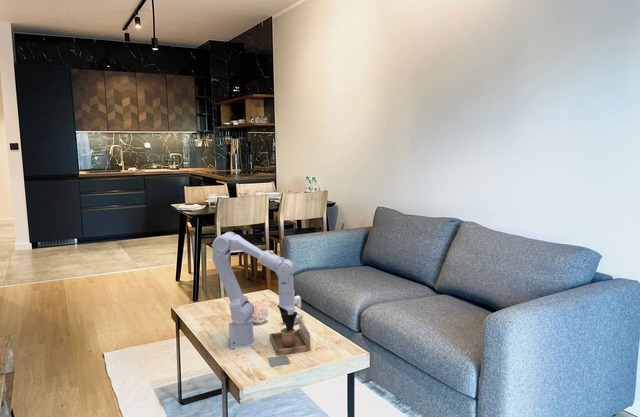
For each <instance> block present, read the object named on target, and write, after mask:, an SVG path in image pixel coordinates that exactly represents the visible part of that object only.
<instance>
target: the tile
mask: <svg viewBox="0 0 640 417" xmlns="http://www.w3.org/2000/svg"><path fill="white" fill-rule="evenodd" d="M267 360H268V363H269V366H270V367H278V366H286V365H291V362H290V359H289V357H288V354H287V355H280V356H279V355H276V356H272V357H267Z"/></svg>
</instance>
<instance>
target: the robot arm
mask: <svg viewBox="0 0 640 417" xmlns="http://www.w3.org/2000/svg"><path fill="white" fill-rule="evenodd" d="M211 247H212V256H211V259H212V262H213V264H214V267H215V268H216V272H217V274H218V276H219V279H220V281H221V283H222V285H223V288H224V290H225V292H226V294H227V297H228V299H229V304H230V305H229V310H230V318H231V321H232V322H230V323H228V336H229V337H228V342H229V346H230V349H231V350H232V349H236V348H242V347H243V348H244V347H250V346H256V345H257V343H256V341H255V337H254V326H253V325H254V324H253V316H252V315H253V314H254V313H255V307H254V304H253V303H251V302H250V300H249V298H248V297H247V296H246V295H244V293H243V291H242V288H241V287H240V284H239V282H238V280H237V278H236V275H235V273H234V271H233V268H232V266H231V264H230V261H229V259H228V258H229V256H230V253H231V252H235V251H242V252H243V253H246V254H248V255H250V256H252V257H253V258H256V259H258V262H259V264H260V265H261V266H264V267H266V268H267V269H269V270H271V271H273V272H275V275H276V276H277V280H278V299H279V300H278V302H279V303H278V305H277V308H278V309H279V313H280V315H281V316H282V318H281V320H282V323H283V324H285V328H287V331H290V330H293V329H294V325H295V324H294V321H295V318H296V316H297V313H298V312H297V311H295V312H293V308H294V306H295V307H296V306H297V304H298V303H297V301H294V297H295V294H294V289H295V287H294V285H295V284H294V273H293V272H294V271H295V263H294V262H293V261H292V260H291V259H289V258H285V257H283V256H282V257H281V256H279V255H277V254H275V253H274V251H273V250H268V249H267V250H262V249H260V248H259V247H257V246H255V245H254V244H252V243H250V242H249V241H248V240H246V239H245V238H243V237H242V236H241V235H239V234H236V233H235V232H233V231H226V232H225V233H223V234H221V235H219V236H217V237H215V238H214V240H213V242H212V244H211ZM281 316H280V317H281Z"/></svg>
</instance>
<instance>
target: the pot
mask: <svg viewBox="0 0 640 417" xmlns="http://www.w3.org/2000/svg"><path fill="white" fill-rule="evenodd" d="M295 330H296V329H295V328H293V330H290V331H287V328H286V327H285V328H282V329H280V332H281V334H282V345H283V346H284V347H292V346H294V345H295V344H294V334H295Z"/></svg>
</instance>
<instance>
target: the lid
mask: <svg viewBox="0 0 640 417" xmlns="http://www.w3.org/2000/svg"><path fill="white" fill-rule="evenodd" d="M298 326H299V328H298V329H299V330H300V331H301V333H302V335H303V336H304V338H305V340H306V342H307V343H308V351H307V352H309V351H310V346H311V335H310V334H311V333H310V331H309V329H308V328H307V326H306V325H305V322H304V321H303V319H302V320H301V318H299V324H298Z"/></svg>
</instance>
